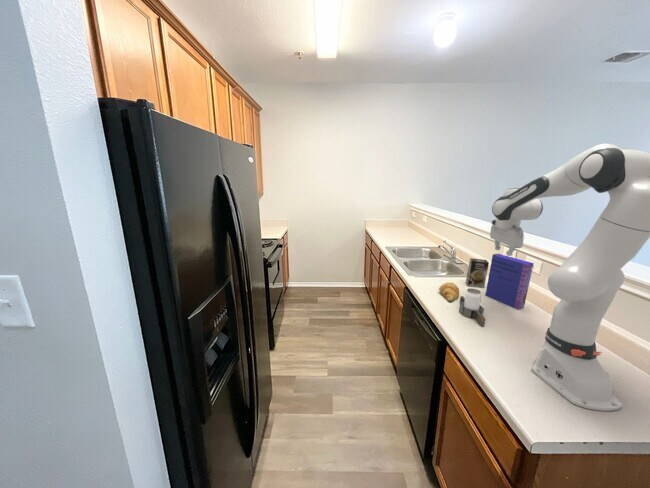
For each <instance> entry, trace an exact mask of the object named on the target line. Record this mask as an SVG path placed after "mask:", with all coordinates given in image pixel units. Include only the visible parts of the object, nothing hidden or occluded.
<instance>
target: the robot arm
mask: <svg viewBox="0 0 650 488" xmlns="http://www.w3.org/2000/svg"><path fill="white" fill-rule="evenodd" d="M591 188H592V189H593V190H594V191H596V192H597V193H599V194H603V193H607V194H608V196H609V201H608V202H607V205H606V206H605V208H604V209H603V210H602V212H601V214H600V215H599V217H598V218H597V219H596V221H595V223H594V224H593V226H592V228H591V229H590V231H589V232H588V234H587V235H586V237H585V238H584V240H583V241H582V242H581V243H580V244H579V246H578V247H577V248H576V249H574V251H572V253H571V254H570V255H569V256H568V257H567V258H566V259H565V260H564V262H562V264H561V265H560V266H559V267H558V268H557V269H555V270H554V271H553V272H552V273H551V274H550V275H549V276H548V279H547V286H548V288H549V291H550V292H551V293H552V294H553V295H554V296H555V297H556V298H558V299H559V300H560V301H559V302H558V303H557V304H556V305H555V307H554V309H553V313H552V317H551V320H550V325H549V327H547V329H546V330H547V331H546V333H545V336H544V339H545V342H544V343H543V345H542V347H541V348H540V350H539V353H538V355H537V358H536V359H535V360H534V363H533V365H532V366H531V368H530V371H531V372H532V373H534V374H535V375H536V376H538V377H539V378H540V379H541V380H543V381H544V382H545V383H547V385H549V387H551V388H552V389H554V390H555V391H556V392H557V393H559V394H560V395H561V396H563V398H564V399H566V400H567V401H569V402H570V403H571V404H573V405H576V406H577V407H579V408H580V407H581V408H584V409H589V410H595V411H604V412H612V411H613V412H614V411H617V410H620V409H621V408H622V406H623V403H622V402H621V401H620V400H619V399H618V398H617V397H616V396H615V395H614V394H613V391H614V383H613V381H612V379H611V378H610V374H609V372H607V371H605V368H604V367H603V366H602V364H601V363H600V361H599V359H598V358H597V357H598V356H601V355H602V351H597V344H596V338H597V335H598V332H599V329H600V326H601V323H602V320H603V318H604V317H605V314H606V312H607V311H608V310H609V308H610V306H611V305H612V302H613V301H614V299H615V297H616V295H617V292H618V291H619V289H620V288H621V286H622V285H623V284H624V282H625V280H626V279H625V274H624V272H623V271H622V268H624V266H626V265H627V264H628V263H629V262H630V261H631V260H633V259H635V257H636V256H637V255H638V254H639V252H640V251H641V249H642V248H643V247H644V245H645V244H646V243H647V241H649V239H650V152H647V151H643V150H637V149H626V148H625V149H623V148H620V147H619V146H617V145H615V144H612V143H600V144H596V145H594V146H592V147H590V148H589V149H587V150H585V151H583V152H581V153H579V154H577V155H576V156H575V157H573V158H571V159H570V160H568V161H566V162H565V163H564V164H563V165H561V166H559V167H557V168H556V169H554V170H552V171H550V172H549V173H546V174H544V175H542V176H540V177H538V178H536V179H533V180H532V181H530V182H528V183H527V184H524V185H523V186H521V187H518V188H517V187H515V188H508V189H507V188H506V190H504V192H503V195H502V196H500V197H498V198H497V199H496V200H495V202H493V204H492V206H491V211H492V212H491V213H492V214H493V216H494V217H495V219H492V220H491V223H490V224H491V227H490V231H489V237H490V239H491V240H494V245H495V246H494V250H496V251H500V250H501V244H503V245H506V246H508V250H507V251H506V255H505V256H509V257H512V256H513V252H515V250H516V249H521V248H523V246H524V239H525V237H524V236H525V234H524V231H523V229H522V227H520V225H521V221H532V220H537V219H538V218H539V217H540V216H541V215H542V214H543V210H544V204H543V202H542V200H540V199H541V198H549V197H551V198H552V197H567V196H568V197H569V196H574V195H576V194H580V193H582V192H583V193H584V192H585V191H588V190H589V189H591Z"/></svg>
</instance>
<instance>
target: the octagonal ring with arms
mask: <svg viewBox="0 0 650 488" xmlns="http://www.w3.org/2000/svg"><path fill="white" fill-rule="evenodd" d="M458 313H459V314H460V315H461V316H463V317H466V318H468V319H472V320H474V321H475V322H476V323H477V324H478V325H479V326H480V327H481V328H484V327H485V323H486V317H484V312H483V313H482V314H480V313H479V312H478V311H475V315H472V314H468V313H465V312H463V311H462V310H461V309H460V306H459V307H458Z"/></svg>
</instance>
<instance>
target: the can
mask: <svg viewBox="0 0 650 488" xmlns="http://www.w3.org/2000/svg"><path fill="white" fill-rule="evenodd" d="M464 298H465V301H464V307H465V308H468V309H471V310H479V307H480V305H481V301H482V293H481V291H480V290H479V289H476V288H467V291H466V292H465V295H464Z"/></svg>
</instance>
